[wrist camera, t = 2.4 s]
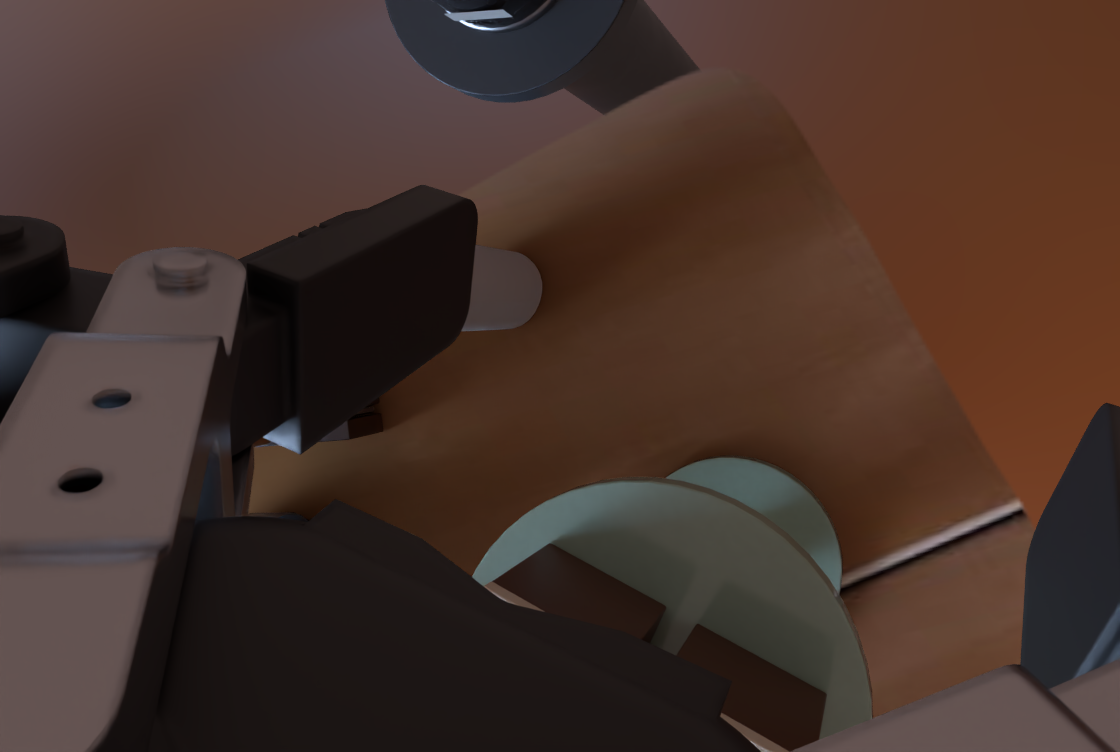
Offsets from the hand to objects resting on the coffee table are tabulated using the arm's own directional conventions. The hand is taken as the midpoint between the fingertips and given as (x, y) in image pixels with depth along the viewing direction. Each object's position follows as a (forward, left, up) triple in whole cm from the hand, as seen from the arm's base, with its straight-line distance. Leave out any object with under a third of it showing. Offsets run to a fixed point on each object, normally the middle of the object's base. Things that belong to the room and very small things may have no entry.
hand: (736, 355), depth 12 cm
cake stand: (+13, -8, -41) cm, 43 cm away
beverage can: (-4, -20, -41) cm, 46 cm away
